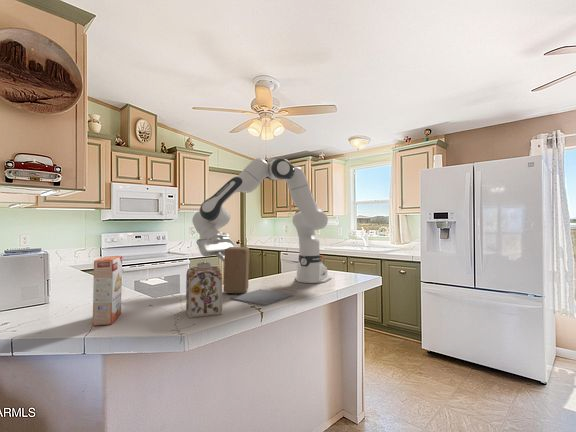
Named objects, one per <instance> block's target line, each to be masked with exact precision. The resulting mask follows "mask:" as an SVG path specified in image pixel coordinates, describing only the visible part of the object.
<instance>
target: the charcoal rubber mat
mask: <svg viewBox="0 0 576 432" xmlns="http://www.w3.org/2000/svg"><path fill="white" fill-rule="evenodd" d="M293 296H294V294H292V293H285V292H279V291H275V290H274V291H273V290H267V289H261V288H258V289H256V290H253V291H249V292H245V293H240V294H237V295H235V296H231V297H229V300H232V301H238V302H243V303H248V304H251V305H252V304H253V305H258V306H263V307H266V306H268V305H272V304H273V303H277V302H280V301H283V300H286V299H288V298H292V297H293Z"/></svg>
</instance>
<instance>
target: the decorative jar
mask: <svg viewBox="0 0 576 432" xmlns="http://www.w3.org/2000/svg"><path fill="white" fill-rule="evenodd" d="M185 277H186V278H185V279H186V281H185V282H186V283H185V285H186V286H185V289H186V290H185V303H186V304H185V307H186V308H185V309H186V313H187V316H188V319H193V318H194V319H195V318H202V317H212V316H219V315H220V316H221V315H222V314H223V276H222V272H221V269H220V268H219V267H218V266H211V262H208V261H207V262H205V261H202V262H197V264H196V266H194V267H190V268H187V271H186V276H185Z"/></svg>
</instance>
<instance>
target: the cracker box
mask: <svg viewBox="0 0 576 432" xmlns="http://www.w3.org/2000/svg"><path fill="white" fill-rule="evenodd" d="M122 278H123V256H122V255H108V256H107V255H106V256H103V257H100V258H98V259H95V260H93V282H92V283H93V287H92V288H93V293H92V294H93V295H92V296H93V297H92V326H93V327H95V326H108V325H109V326H110V325H113V323H114V322H115V321H116V319H118V317H119V316H120V314H121V313H122V291H123V290H122V288H123V287H122V284H123V283H122V282H123V281H122V280H123V279H122Z"/></svg>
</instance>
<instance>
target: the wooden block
mask: <svg viewBox="0 0 576 432" xmlns="http://www.w3.org/2000/svg"><path fill="white" fill-rule="evenodd" d="M223 262H224V263H223V293H225V294H245V293H247V291H248V290H249V275H250V273H249V270H250V269H249V268H250V248H249V247H246V246H236V247H229V248H227V249H225V252H224V261H223Z"/></svg>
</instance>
